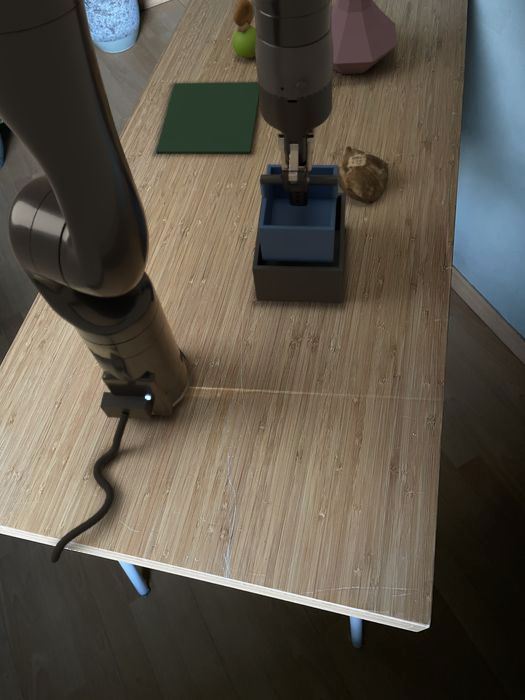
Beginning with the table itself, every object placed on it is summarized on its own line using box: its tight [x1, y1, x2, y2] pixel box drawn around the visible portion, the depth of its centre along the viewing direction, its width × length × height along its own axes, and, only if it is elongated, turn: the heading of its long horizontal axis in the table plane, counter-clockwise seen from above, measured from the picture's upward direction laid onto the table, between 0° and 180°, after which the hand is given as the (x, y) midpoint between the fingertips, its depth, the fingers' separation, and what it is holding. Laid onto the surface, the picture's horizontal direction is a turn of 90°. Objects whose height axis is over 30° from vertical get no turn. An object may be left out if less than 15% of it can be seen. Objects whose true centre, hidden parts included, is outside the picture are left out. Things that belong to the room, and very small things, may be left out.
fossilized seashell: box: [337, 145, 390, 203], centre depth 90 cm, size 8×7×10 cm
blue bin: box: [259, 163, 340, 262], centre depth 74 cm, size 11×10×9 cm
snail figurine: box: [231, 0, 256, 59], centre depth 106 cm, size 5×6×12 cm
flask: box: [331, 0, 398, 75], centre depth 99 cm, size 16×16×20 cm
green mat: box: [155, 81, 260, 155], centre depth 103 cm, size 18×16×1 cm
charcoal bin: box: [251, 192, 347, 304], centre depth 82 cm, size 14×12×8 cm
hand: (299, 198), depth 73 cm, fingers closed on blue bin, 1 cm apart
